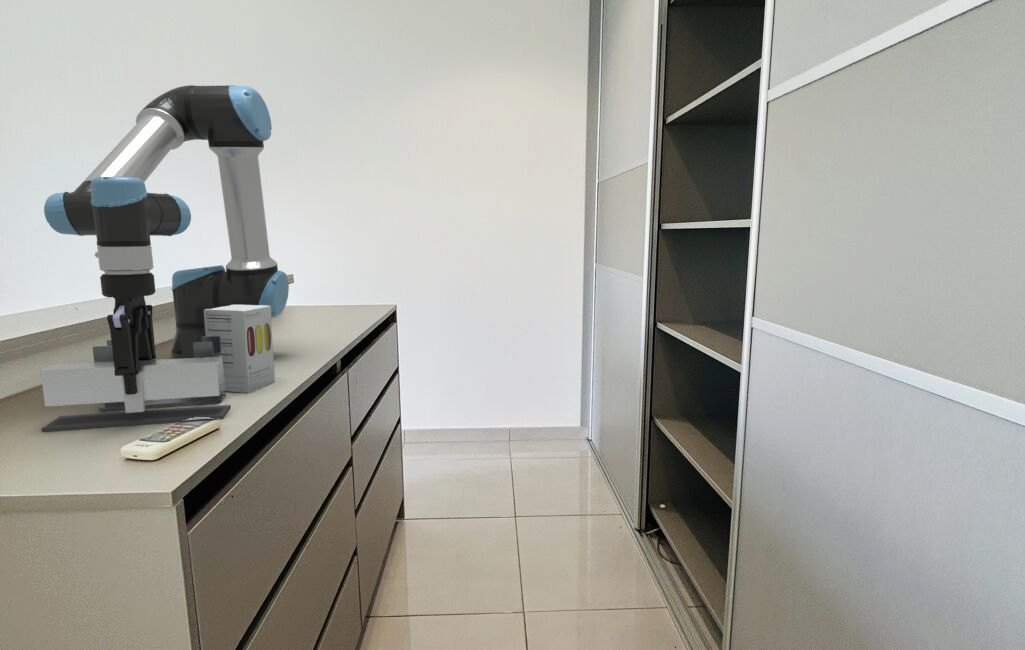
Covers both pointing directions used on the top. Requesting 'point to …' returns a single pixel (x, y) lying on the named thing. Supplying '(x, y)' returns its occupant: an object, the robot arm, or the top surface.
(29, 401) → the top surface
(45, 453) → the top surface
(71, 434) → the top surface
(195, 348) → the standards
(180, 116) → the robot arm
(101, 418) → the mat
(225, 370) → the supplement box
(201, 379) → the rail
